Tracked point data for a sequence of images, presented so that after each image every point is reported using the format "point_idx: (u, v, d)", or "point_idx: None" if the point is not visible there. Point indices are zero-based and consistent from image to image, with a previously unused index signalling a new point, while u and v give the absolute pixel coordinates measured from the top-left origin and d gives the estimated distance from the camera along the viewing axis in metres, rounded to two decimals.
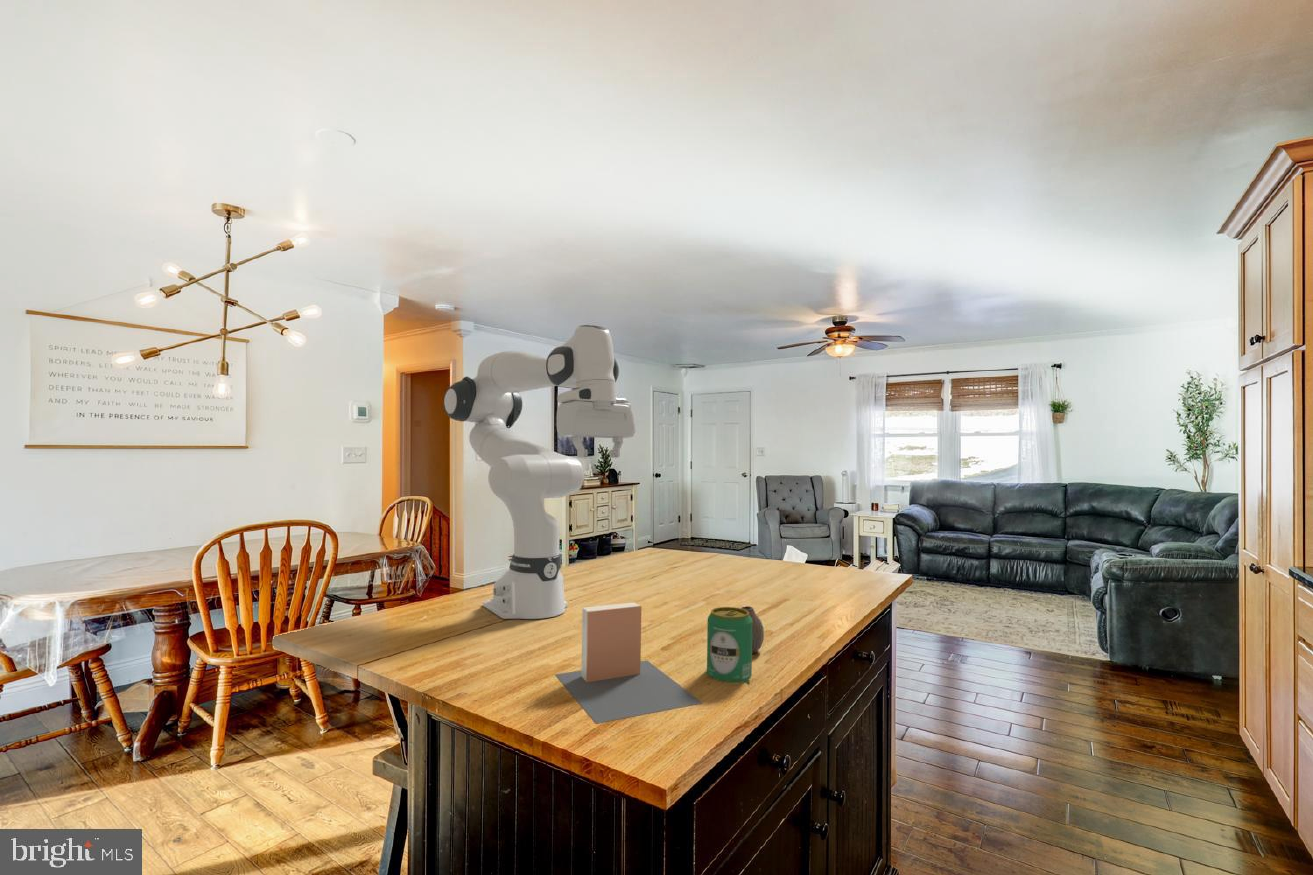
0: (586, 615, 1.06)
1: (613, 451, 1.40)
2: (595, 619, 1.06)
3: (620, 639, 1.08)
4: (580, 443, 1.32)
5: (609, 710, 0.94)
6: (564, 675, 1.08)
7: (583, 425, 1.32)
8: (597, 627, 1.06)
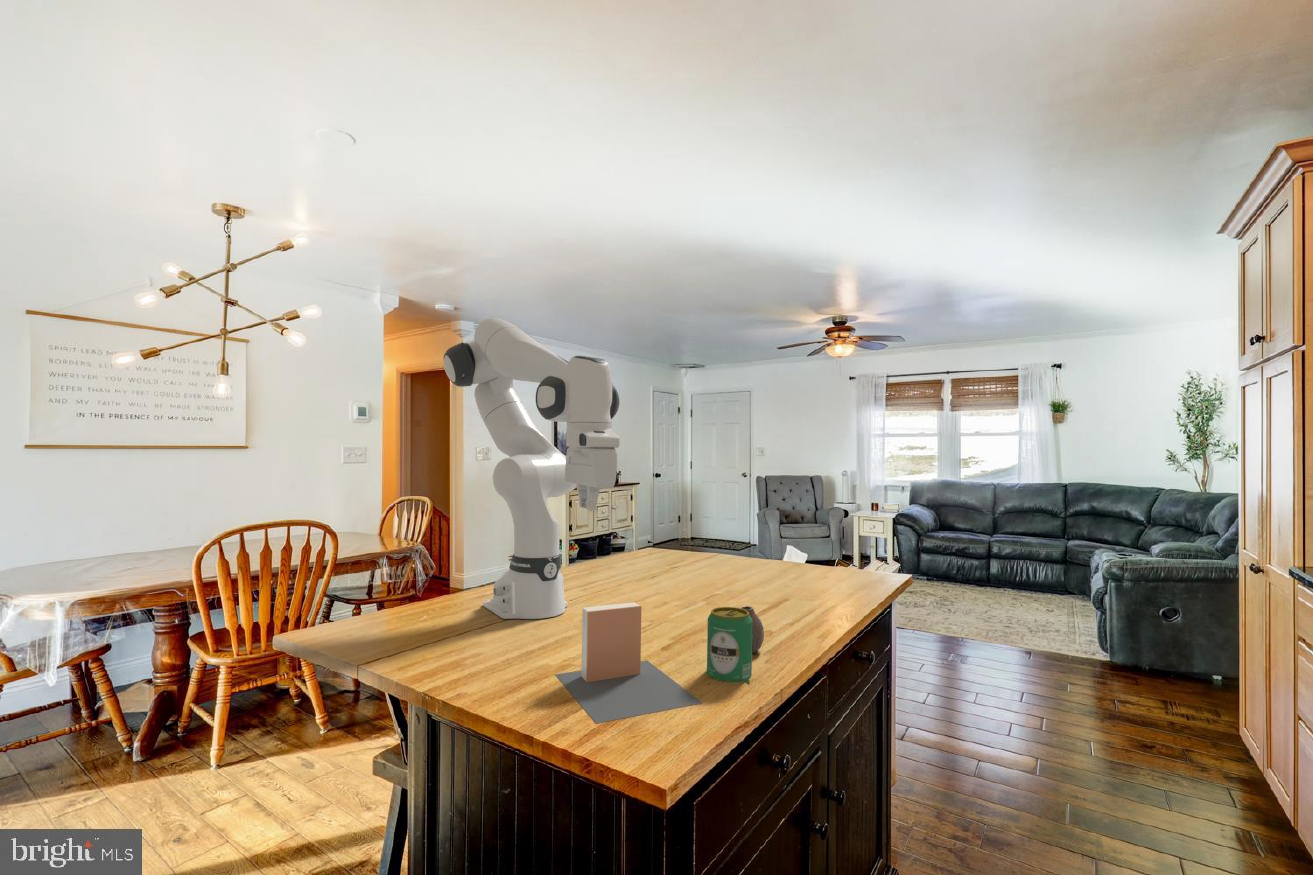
0: (586, 615, 1.06)
1: None
2: (595, 619, 1.06)
3: (620, 639, 1.08)
4: None
5: (609, 710, 0.94)
6: (564, 675, 1.08)
7: None
8: (597, 627, 1.06)
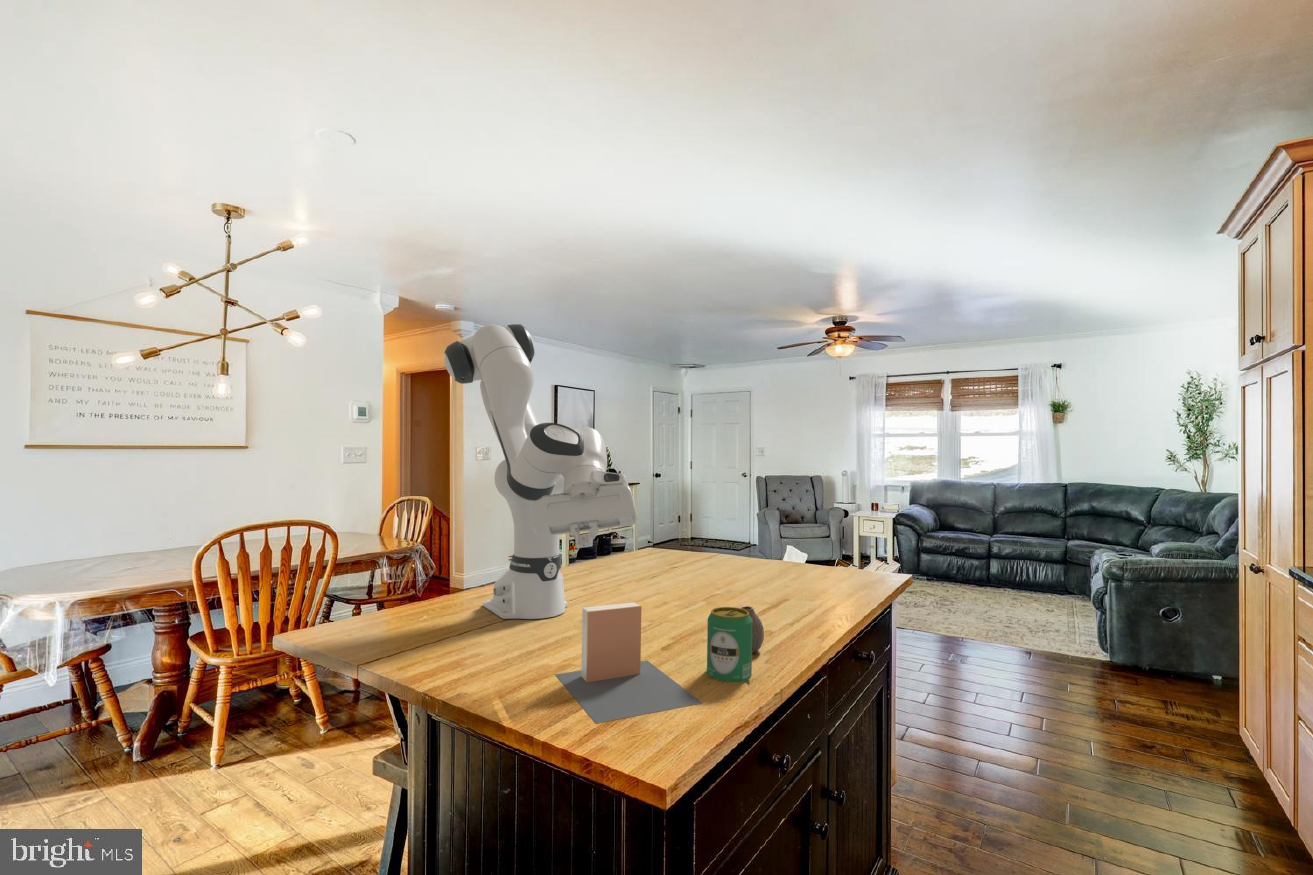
0: (586, 615, 1.06)
1: None
2: (595, 619, 1.06)
3: (620, 639, 1.08)
4: None
5: (609, 710, 0.94)
6: (564, 675, 1.08)
7: None
8: (597, 627, 1.06)
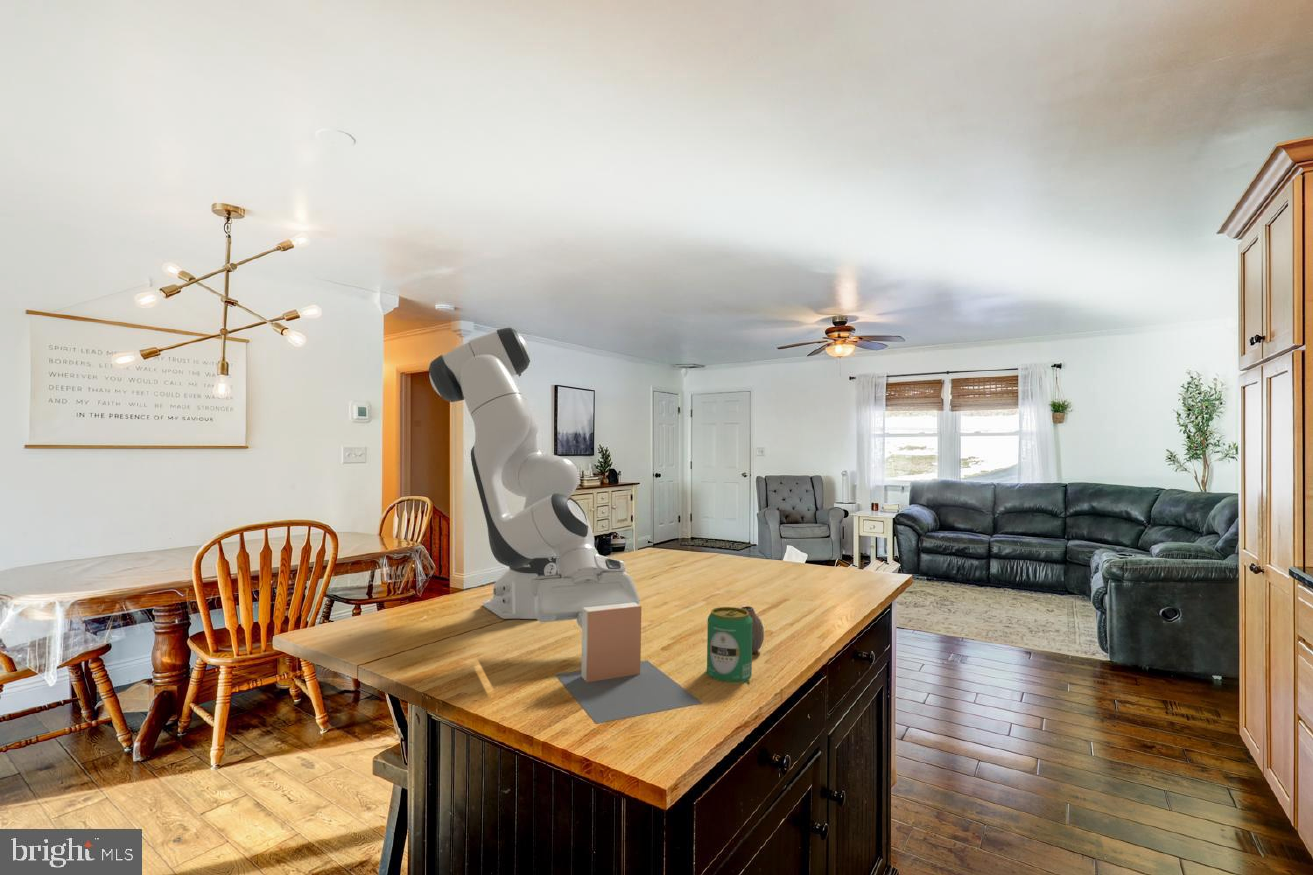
0: (586, 615, 1.06)
1: None
2: (595, 619, 1.06)
3: (620, 639, 1.08)
4: None
5: (609, 710, 0.94)
6: (564, 675, 1.08)
7: None
8: (597, 627, 1.06)
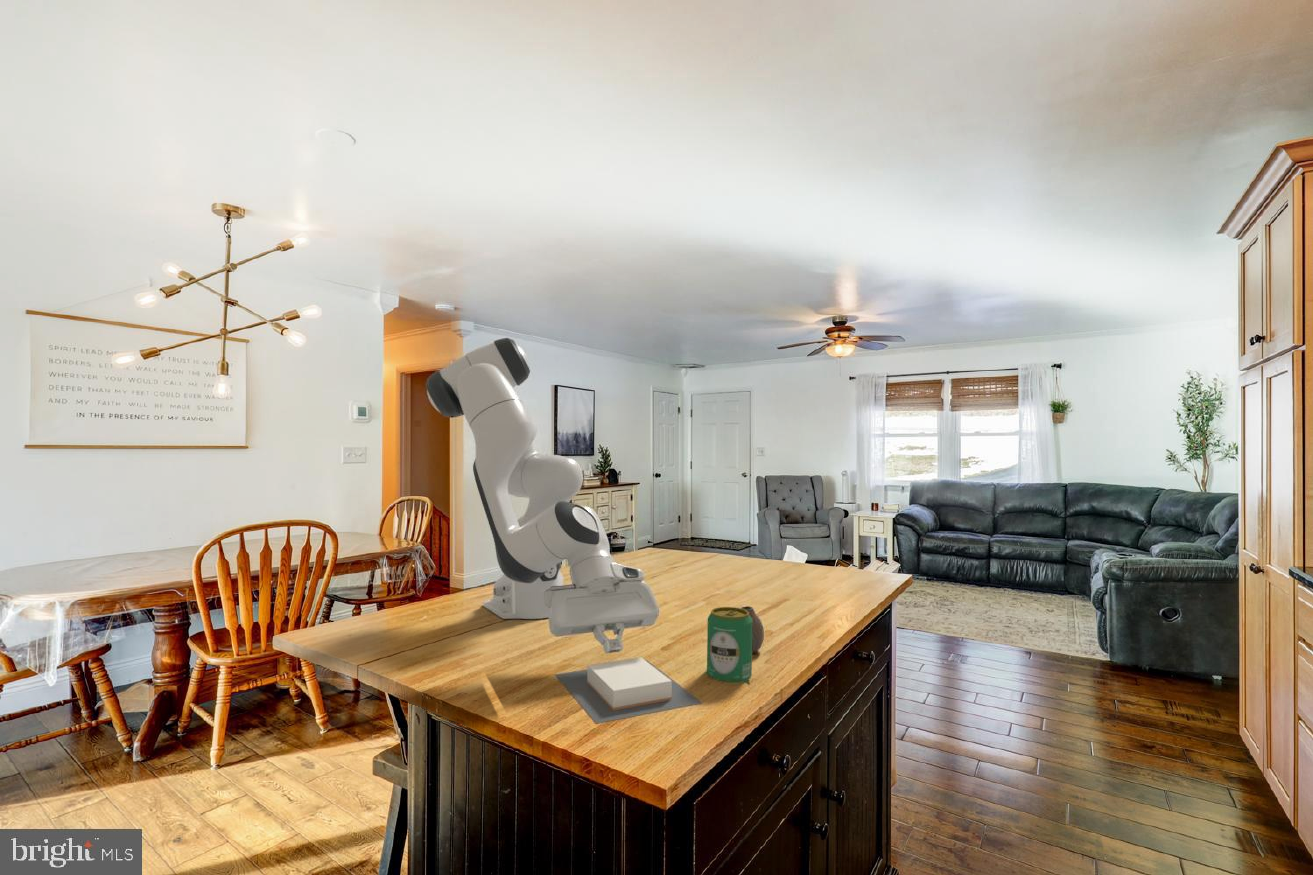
0: (611, 702, 0.95)
1: None
2: None
3: None
4: None
5: (609, 710, 0.94)
6: (564, 675, 1.08)
7: None
8: None
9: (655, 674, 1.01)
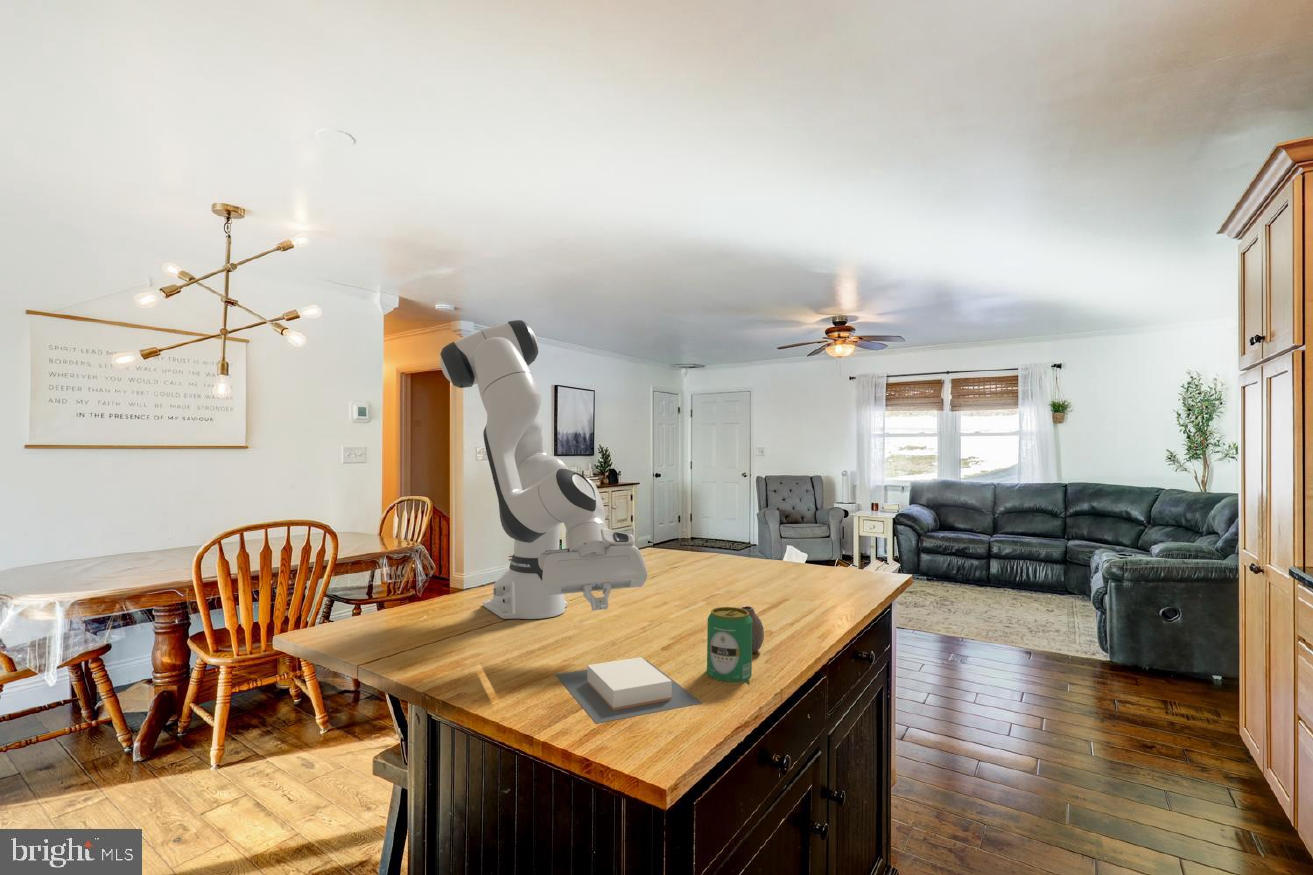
0: (611, 702, 0.95)
1: None
2: None
3: None
4: None
5: (609, 710, 0.94)
6: (564, 675, 1.08)
7: None
8: None
9: (655, 674, 1.01)
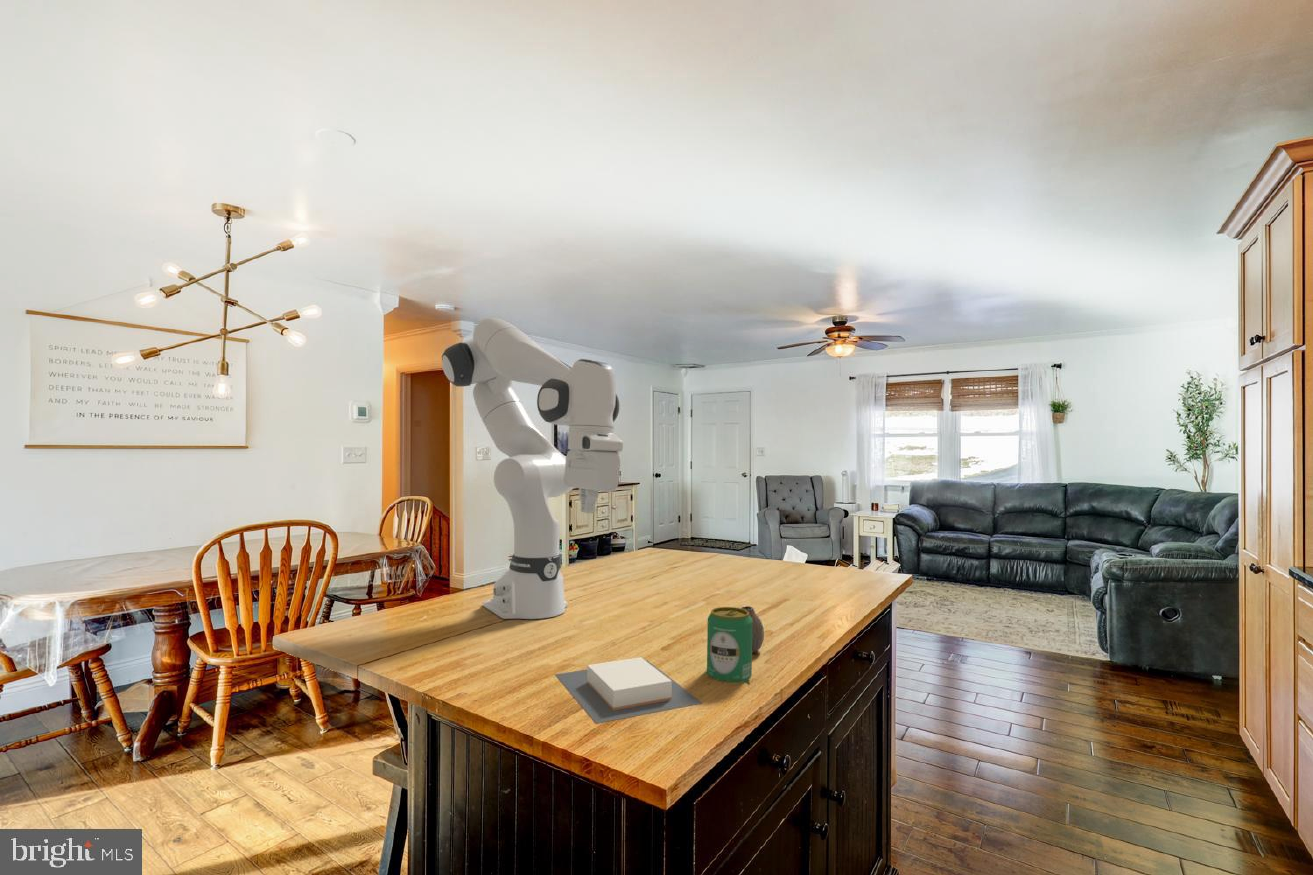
0: (611, 702, 0.95)
1: None
2: None
3: None
4: None
5: (609, 710, 0.94)
6: (564, 675, 1.08)
7: None
8: None
9: (655, 674, 1.01)
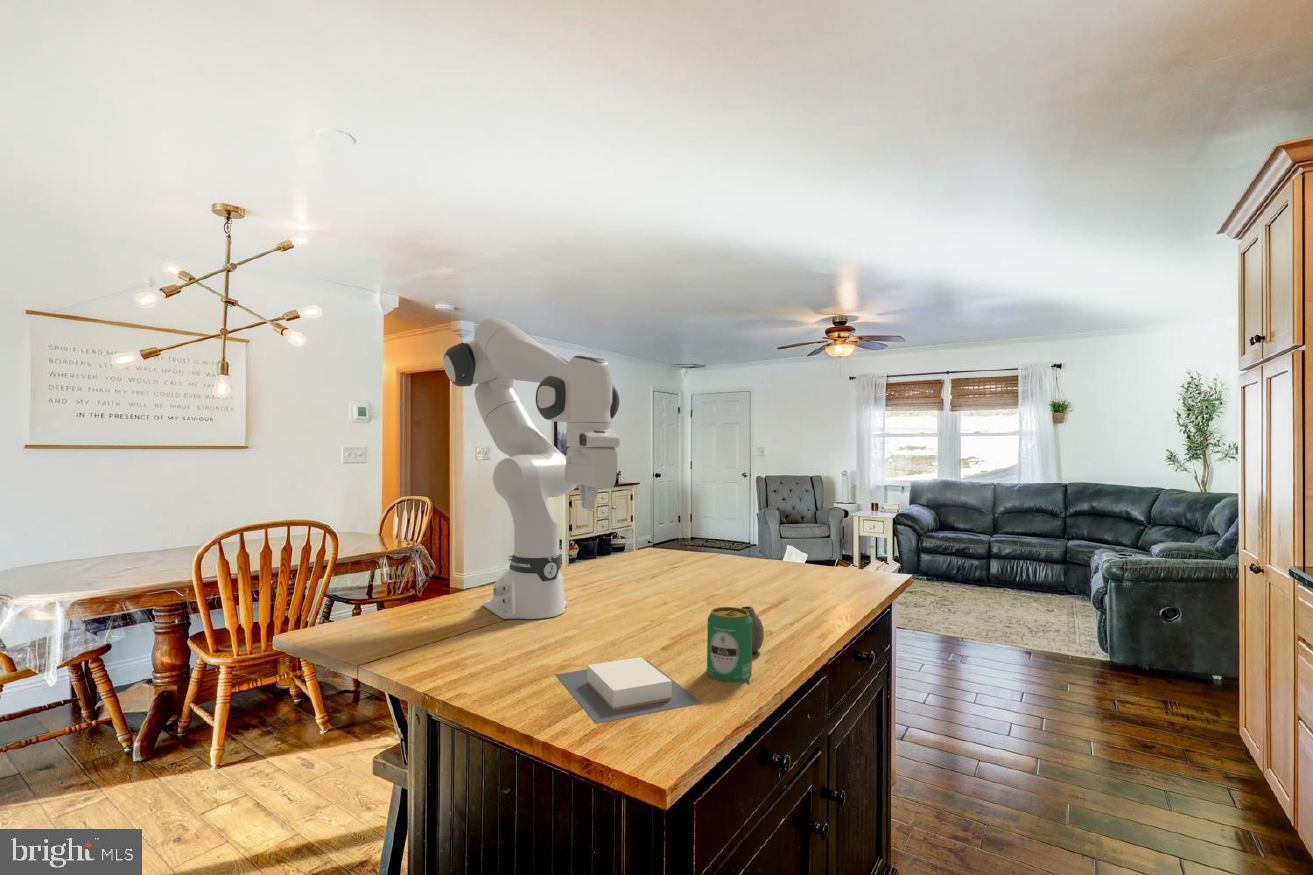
0: (611, 702, 0.95)
1: None
2: None
3: None
4: None
5: (609, 710, 0.94)
6: (564, 675, 1.08)
7: None
8: None
9: (655, 674, 1.01)
